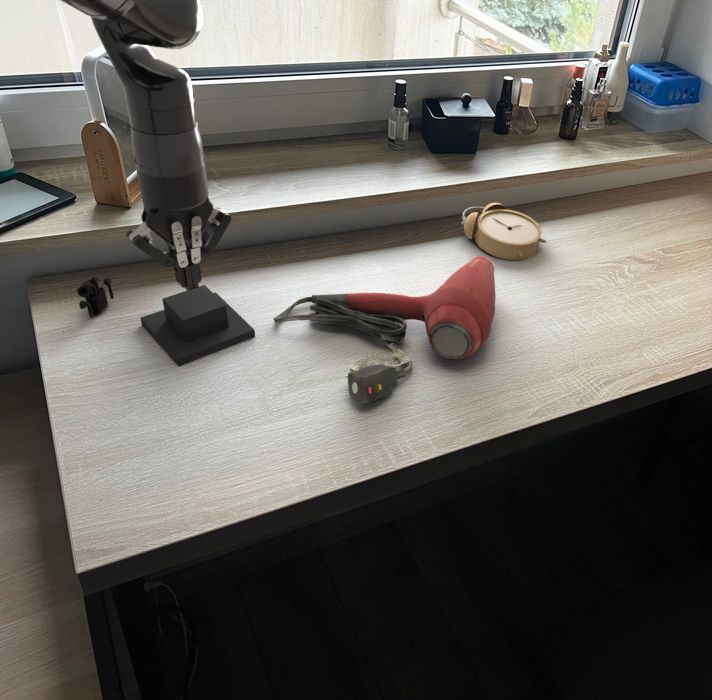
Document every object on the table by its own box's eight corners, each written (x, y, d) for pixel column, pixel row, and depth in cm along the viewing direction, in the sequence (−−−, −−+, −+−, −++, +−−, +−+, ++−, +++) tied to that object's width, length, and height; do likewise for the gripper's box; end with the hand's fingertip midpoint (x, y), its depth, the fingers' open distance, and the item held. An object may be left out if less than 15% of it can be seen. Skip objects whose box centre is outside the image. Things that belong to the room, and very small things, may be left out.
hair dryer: (448, 258, 120) (453, 209, 115) (550, 338, 105) (561, 286, 100) (262, 316, 103) (257, 262, 97) (354, 421, 88) (354, 365, 83)
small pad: (186, 342, 95) (182, 320, 93) (166, 320, 98) (161, 298, 96) (228, 326, 98) (226, 305, 96) (207, 305, 101) (204, 284, 99)
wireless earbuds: (89, 326, 97) (81, 295, 94) (72, 322, 98) (63, 291, 94) (119, 298, 103) (111, 268, 100) (102, 295, 103) (94, 264, 100)
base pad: (178, 366, 93) (175, 350, 91) (141, 324, 99) (138, 309, 97) (255, 336, 99) (253, 321, 97) (216, 298, 105) (214, 283, 103)
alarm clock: (518, 253, 118) (450, 206, 123) (509, 276, 121) (444, 229, 126) (555, 231, 125) (490, 187, 130) (546, 253, 128) (483, 209, 133)
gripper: (126, 186, 78) (152, 316, 88) (238, 161, 85) (250, 284, 96) (98, 160, 82) (127, 288, 92) (208, 139, 90) (223, 259, 100)
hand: (190, 286), depth 94 cm, fingers closed
